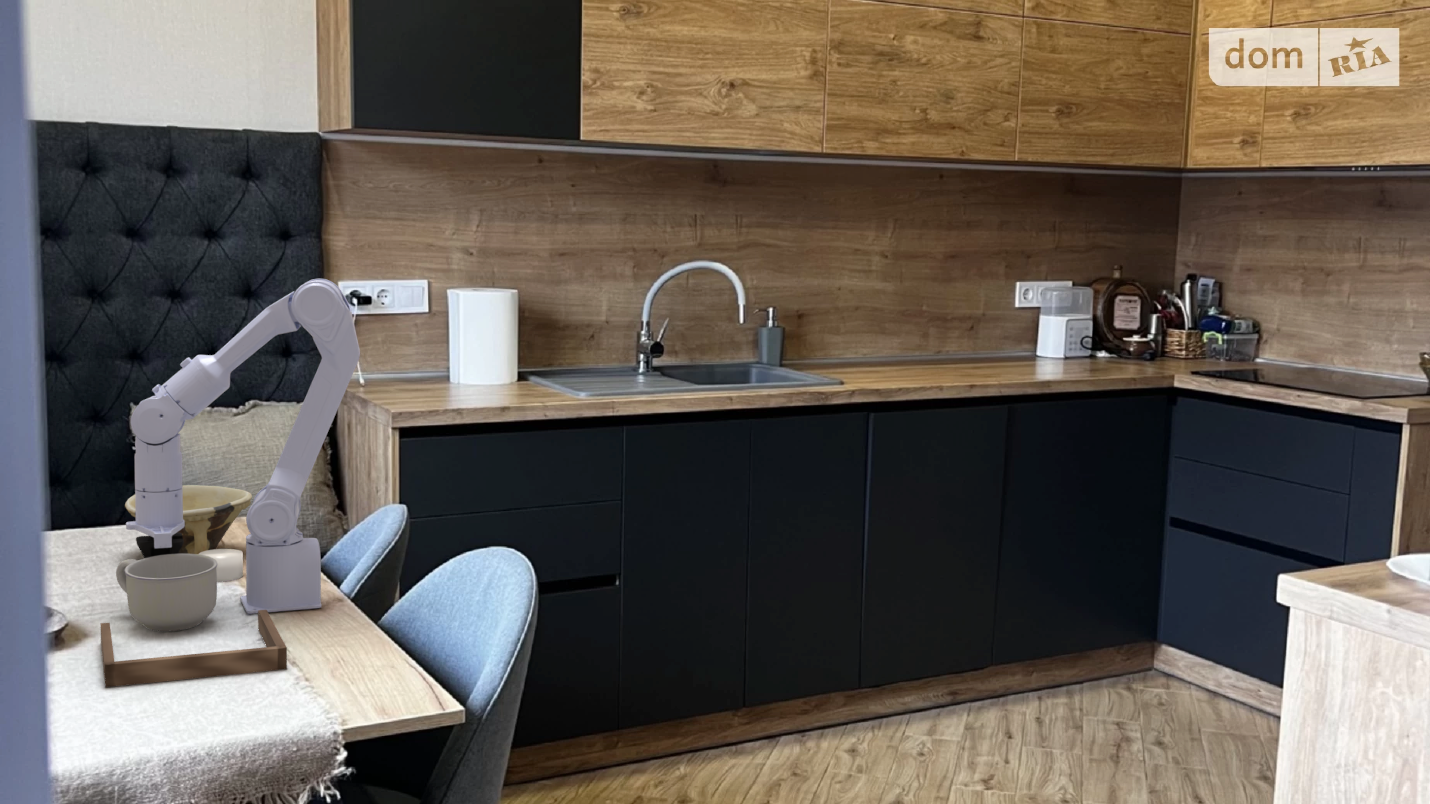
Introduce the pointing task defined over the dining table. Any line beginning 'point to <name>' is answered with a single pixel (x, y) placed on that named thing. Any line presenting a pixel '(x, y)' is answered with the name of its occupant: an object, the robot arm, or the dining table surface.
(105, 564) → the dining table surface
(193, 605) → the teacup
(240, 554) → the white frosted puck
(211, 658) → the corral
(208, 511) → the bowl
